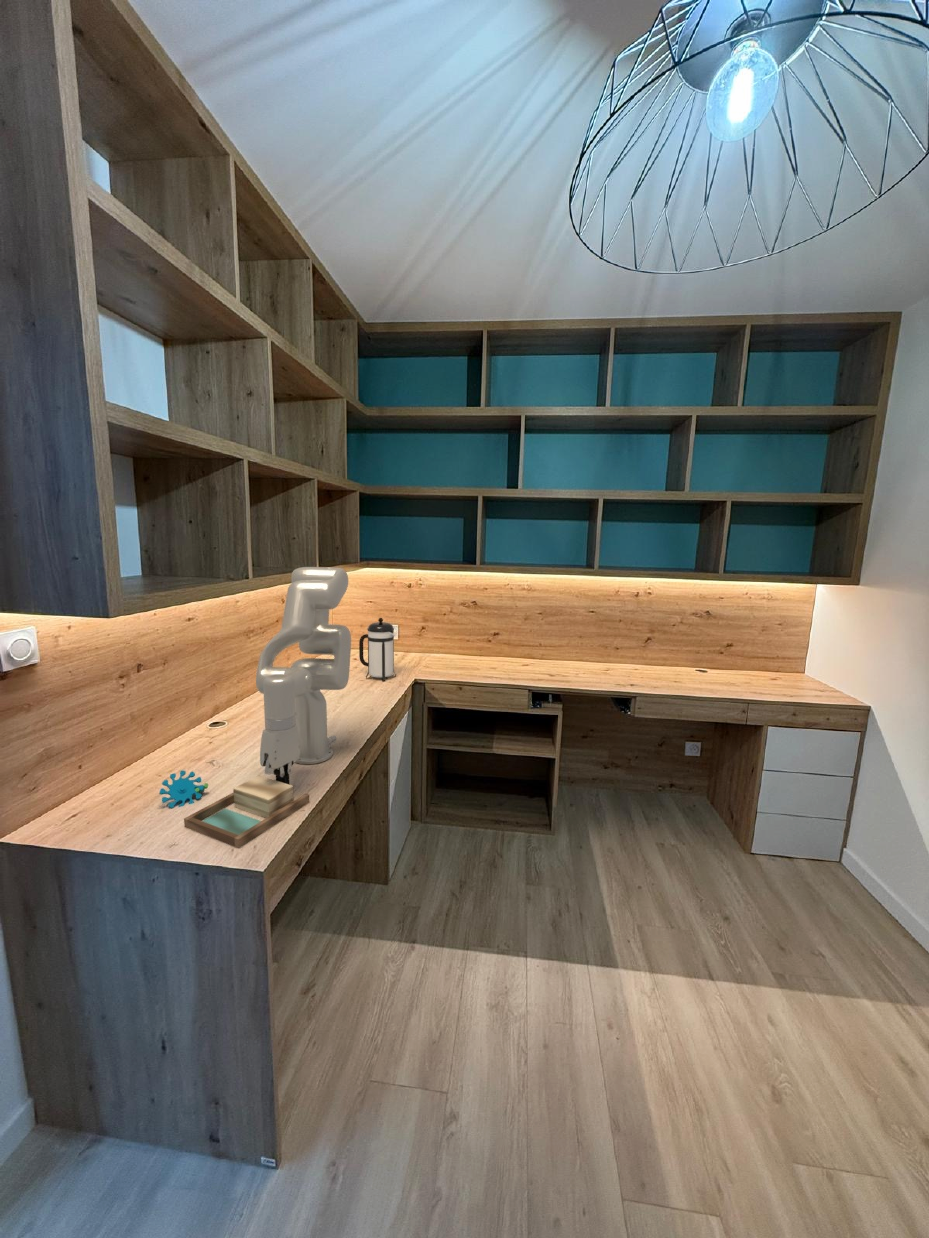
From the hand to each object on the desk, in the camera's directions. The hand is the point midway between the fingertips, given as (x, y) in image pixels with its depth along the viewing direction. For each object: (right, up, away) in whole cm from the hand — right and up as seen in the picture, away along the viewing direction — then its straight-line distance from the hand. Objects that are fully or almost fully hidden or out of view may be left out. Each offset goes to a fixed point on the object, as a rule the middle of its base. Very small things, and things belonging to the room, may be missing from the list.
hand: (282, 787), depth 134 cm
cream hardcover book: (-3, -3, -5) cm, 7 cm away
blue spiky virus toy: (-24, -3, -3) cm, 25 cm away
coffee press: (+6, +16, +115) cm, 116 cm away
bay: (-5, -4, -9) cm, 11 cm away
